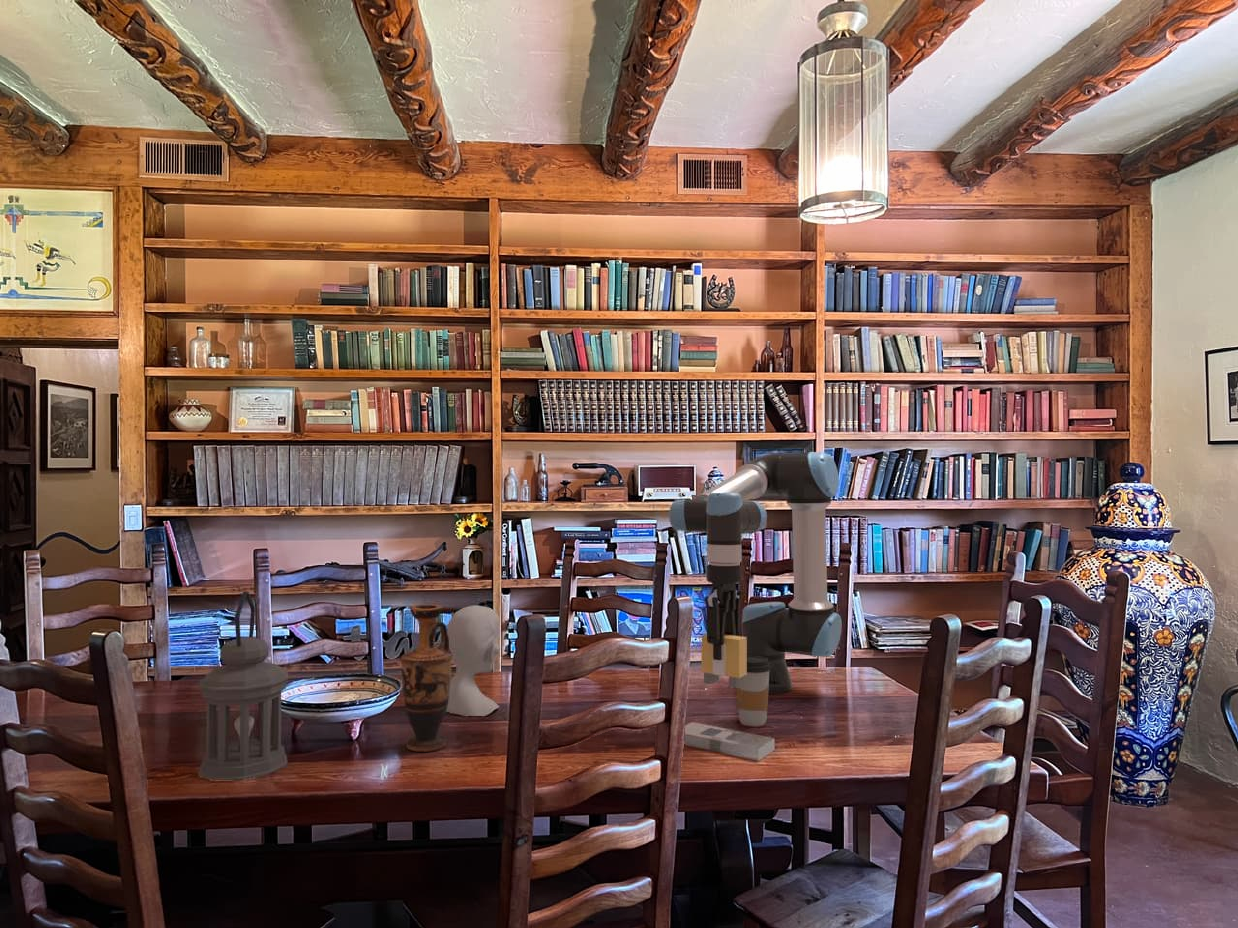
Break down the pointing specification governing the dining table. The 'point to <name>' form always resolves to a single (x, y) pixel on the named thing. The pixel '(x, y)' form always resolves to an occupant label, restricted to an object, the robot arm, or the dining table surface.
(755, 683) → the coffee cup
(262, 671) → the lantern
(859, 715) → the dining table surface
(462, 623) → the head bust
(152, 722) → the dining table surface
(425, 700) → the vase
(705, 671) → the yellow block
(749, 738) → the grey slotted base plate
